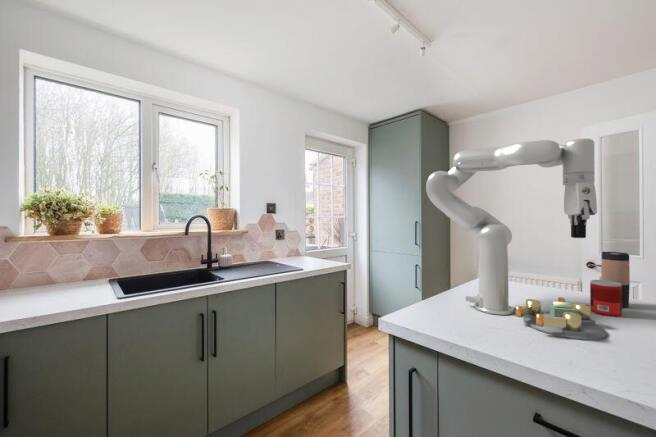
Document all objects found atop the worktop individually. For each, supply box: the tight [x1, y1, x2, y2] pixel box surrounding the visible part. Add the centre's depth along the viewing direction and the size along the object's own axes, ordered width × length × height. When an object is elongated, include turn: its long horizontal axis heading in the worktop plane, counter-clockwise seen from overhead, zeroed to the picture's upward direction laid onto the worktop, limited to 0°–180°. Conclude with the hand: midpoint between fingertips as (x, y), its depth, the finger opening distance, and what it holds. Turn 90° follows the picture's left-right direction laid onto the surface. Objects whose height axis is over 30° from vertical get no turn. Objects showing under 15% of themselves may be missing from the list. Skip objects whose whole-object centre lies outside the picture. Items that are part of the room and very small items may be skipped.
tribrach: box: [522, 301, 607, 341], centre depth 89 cm, size 20×20×8 cm
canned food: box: [589, 279, 623, 318], centre depth 100 cm, size 8×8×11 cm
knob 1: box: [515, 298, 542, 318], centre depth 93 cm, size 12×4×4 cm, turn 119°
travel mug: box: [600, 251, 631, 309], centre depth 108 cm, size 8×8×20 cm
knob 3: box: [557, 297, 591, 320], centre depth 94 cm, size 12×4×4 cm, turn 176°
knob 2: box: [536, 312, 581, 331], centre depth 83 cm, size 12×4×4 cm, turn 82°
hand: (578, 237), depth 90 cm, fingers closed
